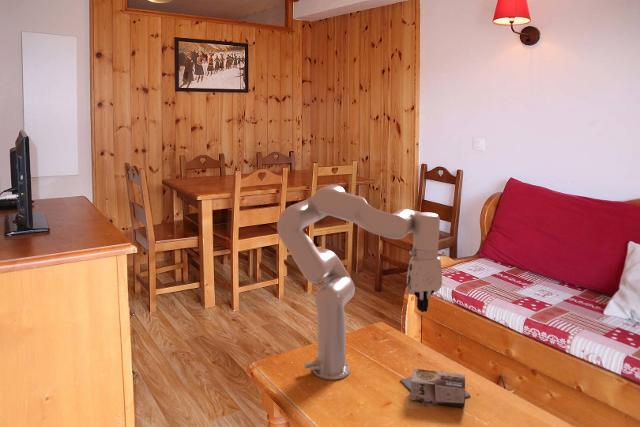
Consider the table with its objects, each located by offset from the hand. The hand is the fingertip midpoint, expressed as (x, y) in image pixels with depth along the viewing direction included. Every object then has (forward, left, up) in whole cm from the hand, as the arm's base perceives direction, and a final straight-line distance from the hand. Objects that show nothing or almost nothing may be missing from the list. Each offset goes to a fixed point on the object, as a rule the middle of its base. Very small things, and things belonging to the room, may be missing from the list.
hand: (422, 310), depth 164 cm
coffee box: (-4, -2, -23) cm, 24 cm away
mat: (+5, -1, -27) cm, 28 cm away
